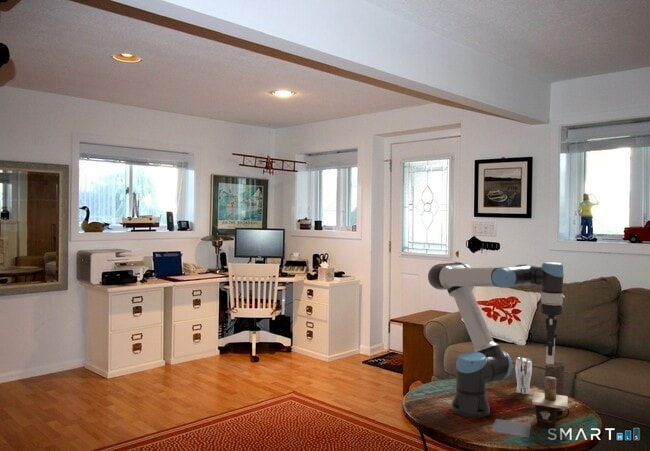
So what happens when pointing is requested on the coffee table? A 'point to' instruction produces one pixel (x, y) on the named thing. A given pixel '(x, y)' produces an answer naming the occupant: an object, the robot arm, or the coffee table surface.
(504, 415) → the coffee table surface
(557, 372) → the dark brown log
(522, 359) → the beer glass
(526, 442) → the coffee table surface
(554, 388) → the cover
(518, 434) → the mat
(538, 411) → the coffee mug
